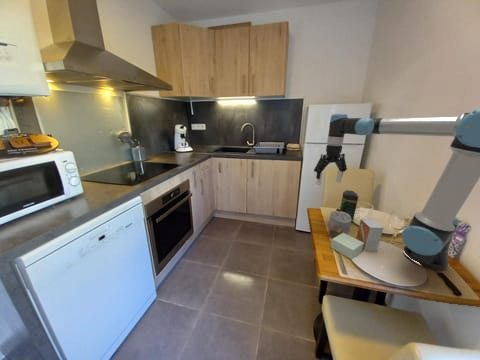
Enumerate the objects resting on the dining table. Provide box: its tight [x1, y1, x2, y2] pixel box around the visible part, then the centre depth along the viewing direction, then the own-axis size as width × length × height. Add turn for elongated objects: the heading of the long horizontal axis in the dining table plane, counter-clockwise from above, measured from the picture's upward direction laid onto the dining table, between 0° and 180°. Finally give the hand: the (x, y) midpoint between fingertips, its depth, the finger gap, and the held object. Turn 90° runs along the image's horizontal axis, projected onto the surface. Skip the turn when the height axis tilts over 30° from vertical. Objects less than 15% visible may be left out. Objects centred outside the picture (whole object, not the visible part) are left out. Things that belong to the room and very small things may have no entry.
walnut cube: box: [327, 225, 342, 240], centre depth 105 cm, size 5×5×5 cm
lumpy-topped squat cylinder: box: [328, 210, 352, 234], centre depth 113 cm, size 10×13×9 cm
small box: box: [355, 218, 384, 252], centre depth 96 cm, size 8×6×13 cm
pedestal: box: [330, 233, 364, 260], centre depth 95 cm, size 10×10×5 cm
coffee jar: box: [339, 189, 359, 224], centre depth 120 cm, size 10×8×19 cm
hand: (328, 183), depth 110 cm, fingers open, 13 cm apart
